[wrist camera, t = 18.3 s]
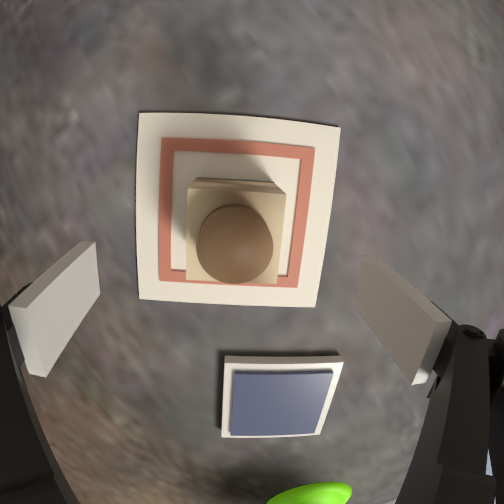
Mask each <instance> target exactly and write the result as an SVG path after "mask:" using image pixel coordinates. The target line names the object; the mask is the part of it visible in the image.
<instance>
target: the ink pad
mask: <svg viewBox="0 0 504 504" xmlns="http://www.w3.org/2000/svg"><path fill="white" fill-rule="evenodd" d="M343 363H344V362H343V360H342V358H341V356H340V355H339V356H305V357H258V356H225V360H224V381H223V405H222V437H232V438H263V437H291V436H307V435H319V434H320V432H321V429H322V426H323V424H324V421H325V418H326V415H327V412H328V409H329V406H330V403H331V400H332V397H333V394H334V391H335V388H336V385H337V382H338V379H339V376H340V372H341V369H342V366H343Z"/></svg>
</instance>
